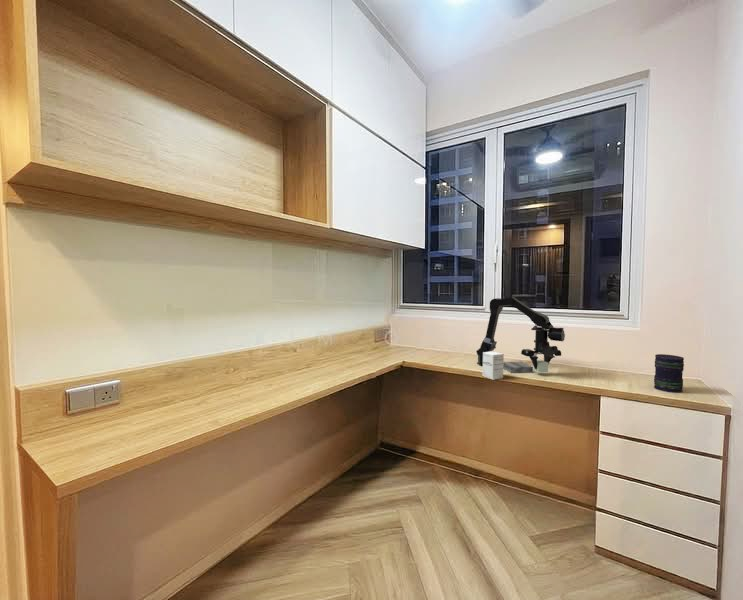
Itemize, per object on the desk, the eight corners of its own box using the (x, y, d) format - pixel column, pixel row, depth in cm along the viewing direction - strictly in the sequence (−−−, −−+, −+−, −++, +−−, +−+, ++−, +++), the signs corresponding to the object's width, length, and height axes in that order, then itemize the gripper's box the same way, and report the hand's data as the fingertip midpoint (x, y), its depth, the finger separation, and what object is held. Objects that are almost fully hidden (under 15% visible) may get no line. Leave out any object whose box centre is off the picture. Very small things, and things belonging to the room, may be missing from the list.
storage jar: (669, 386, 157) (671, 354, 156) (689, 393, 147) (690, 359, 146) (647, 386, 157) (649, 354, 156) (665, 392, 147) (667, 359, 146)
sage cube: (538, 372, 174) (538, 362, 174) (533, 369, 179) (533, 360, 179) (548, 371, 175) (548, 362, 174) (542, 369, 180) (542, 360, 179)
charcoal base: (510, 373, 180) (511, 367, 180) (500, 367, 192) (501, 362, 192) (532, 372, 181) (532, 367, 181) (521, 367, 193) (521, 361, 193)
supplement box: (481, 376, 174) (482, 352, 174) (492, 374, 177) (493, 350, 177) (492, 380, 168) (493, 354, 167) (503, 378, 171) (504, 353, 170)
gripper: (532, 342, 168) (531, 373, 168) (568, 341, 169) (567, 372, 170) (521, 338, 179) (520, 367, 179) (555, 337, 180) (554, 366, 181)
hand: (540, 368), depth 177 cm, fingers closed on sage cube, 5 cm apart
